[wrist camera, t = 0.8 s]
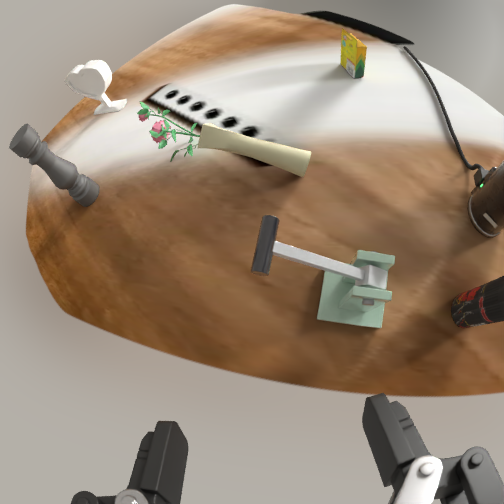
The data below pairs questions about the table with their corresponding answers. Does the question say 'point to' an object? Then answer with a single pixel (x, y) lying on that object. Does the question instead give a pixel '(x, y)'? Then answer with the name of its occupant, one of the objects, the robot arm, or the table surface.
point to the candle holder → (54, 166)
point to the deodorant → (480, 305)
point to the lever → (308, 258)
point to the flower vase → (232, 144)
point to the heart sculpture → (94, 84)
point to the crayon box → (352, 54)
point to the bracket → (355, 294)
